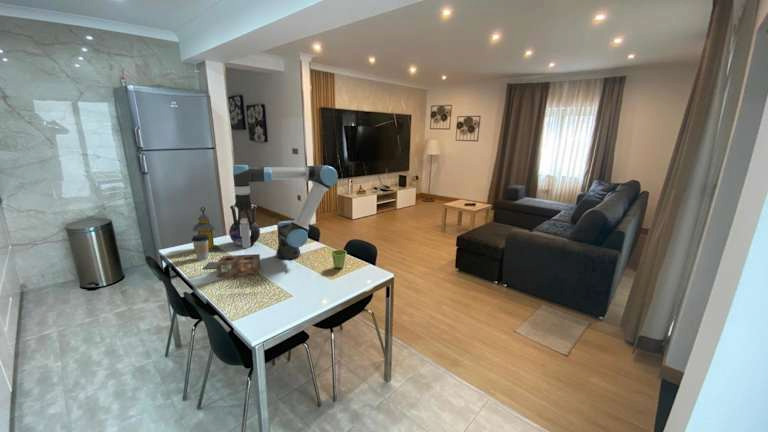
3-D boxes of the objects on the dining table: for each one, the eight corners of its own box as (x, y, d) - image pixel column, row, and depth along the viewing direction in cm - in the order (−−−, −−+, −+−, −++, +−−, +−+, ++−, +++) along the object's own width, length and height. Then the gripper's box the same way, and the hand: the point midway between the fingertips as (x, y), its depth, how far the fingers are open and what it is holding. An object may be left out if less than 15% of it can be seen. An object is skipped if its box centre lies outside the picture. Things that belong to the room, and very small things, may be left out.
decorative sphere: (236, 241, 227) (233, 215, 222) (264, 241, 229) (262, 215, 224) (226, 250, 208) (223, 221, 204) (256, 249, 210) (254, 221, 206)
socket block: (260, 266, 181) (259, 254, 179) (256, 275, 169) (255, 261, 167) (224, 268, 177) (222, 255, 175) (217, 277, 165) (215, 263, 163)
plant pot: (350, 265, 185) (349, 252, 183) (337, 270, 178) (337, 256, 176) (340, 261, 191) (340, 248, 189) (328, 265, 184) (327, 252, 182)
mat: (226, 262, 187) (226, 261, 187) (221, 268, 177) (221, 267, 177) (208, 263, 185) (208, 262, 185) (202, 269, 176) (202, 268, 176)
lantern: (195, 248, 210) (190, 206, 203) (218, 245, 217) (214, 204, 210) (195, 255, 198) (189, 210, 191) (219, 251, 205) (215, 208, 198)
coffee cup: (190, 260, 189) (187, 237, 186) (204, 255, 198) (201, 233, 194) (201, 262, 186) (198, 239, 182) (214, 257, 194) (212, 235, 191)
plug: (250, 245, 173) (248, 218, 169) (249, 247, 169) (247, 219, 166) (244, 245, 172) (241, 218, 169) (242, 247, 168) (240, 219, 165)
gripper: (260, 192, 169) (262, 233, 174) (228, 192, 166) (231, 234, 171) (257, 194, 162) (260, 237, 167) (223, 195, 159) (227, 238, 164)
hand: (245, 235), depth 169 cm, fingers closed on plug, 3 cm apart
